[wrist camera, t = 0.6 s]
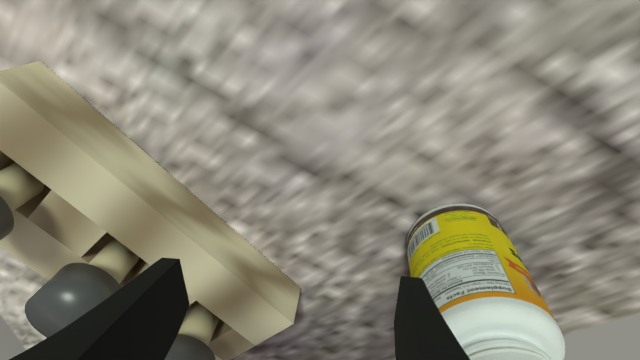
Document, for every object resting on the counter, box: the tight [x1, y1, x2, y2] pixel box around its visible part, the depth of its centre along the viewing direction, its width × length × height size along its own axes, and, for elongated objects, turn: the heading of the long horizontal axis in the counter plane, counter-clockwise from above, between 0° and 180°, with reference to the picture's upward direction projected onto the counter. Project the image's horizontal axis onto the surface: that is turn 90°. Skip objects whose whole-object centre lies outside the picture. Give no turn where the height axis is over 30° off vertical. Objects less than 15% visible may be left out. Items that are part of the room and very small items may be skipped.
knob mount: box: [0, 61, 301, 360], centre depth 23 cm, size 20×10×3 cm, turn 42°
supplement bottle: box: [407, 203, 565, 360], centre depth 18 cm, size 6×6×10 cm
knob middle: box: [25, 239, 139, 338], centre depth 20 cm, size 4×4×5 cm
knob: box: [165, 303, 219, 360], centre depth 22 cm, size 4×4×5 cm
